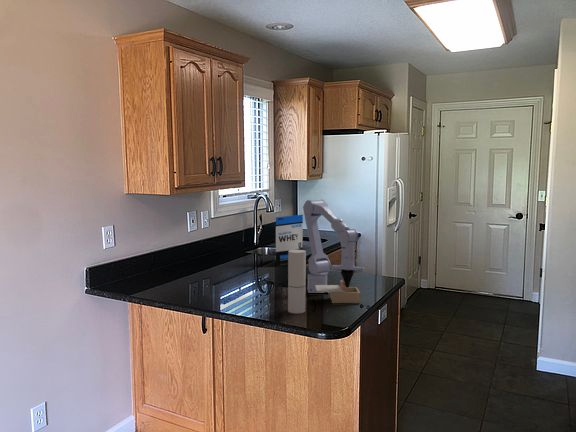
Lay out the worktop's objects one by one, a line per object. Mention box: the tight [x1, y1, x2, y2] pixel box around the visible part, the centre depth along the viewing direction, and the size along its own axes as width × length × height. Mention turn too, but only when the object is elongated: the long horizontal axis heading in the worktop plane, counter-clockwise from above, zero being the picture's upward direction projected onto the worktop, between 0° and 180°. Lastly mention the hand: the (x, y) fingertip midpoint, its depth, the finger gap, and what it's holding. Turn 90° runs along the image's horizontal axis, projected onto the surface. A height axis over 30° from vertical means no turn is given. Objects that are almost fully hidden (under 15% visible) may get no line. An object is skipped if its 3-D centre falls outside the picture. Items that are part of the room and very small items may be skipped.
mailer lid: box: [315, 279, 346, 293], centre depth 213 cm, size 12×10×3 cm
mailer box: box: [329, 286, 361, 304], centre depth 213 cm, size 12×10×5 cm
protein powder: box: [275, 214, 304, 268], centre depth 294 cm, size 10×24×30 cm, turn 137°
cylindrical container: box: [287, 249, 307, 314], centre depth 197 cm, size 7×7×25 cm
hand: (347, 286), depth 213 cm, fingers closed
